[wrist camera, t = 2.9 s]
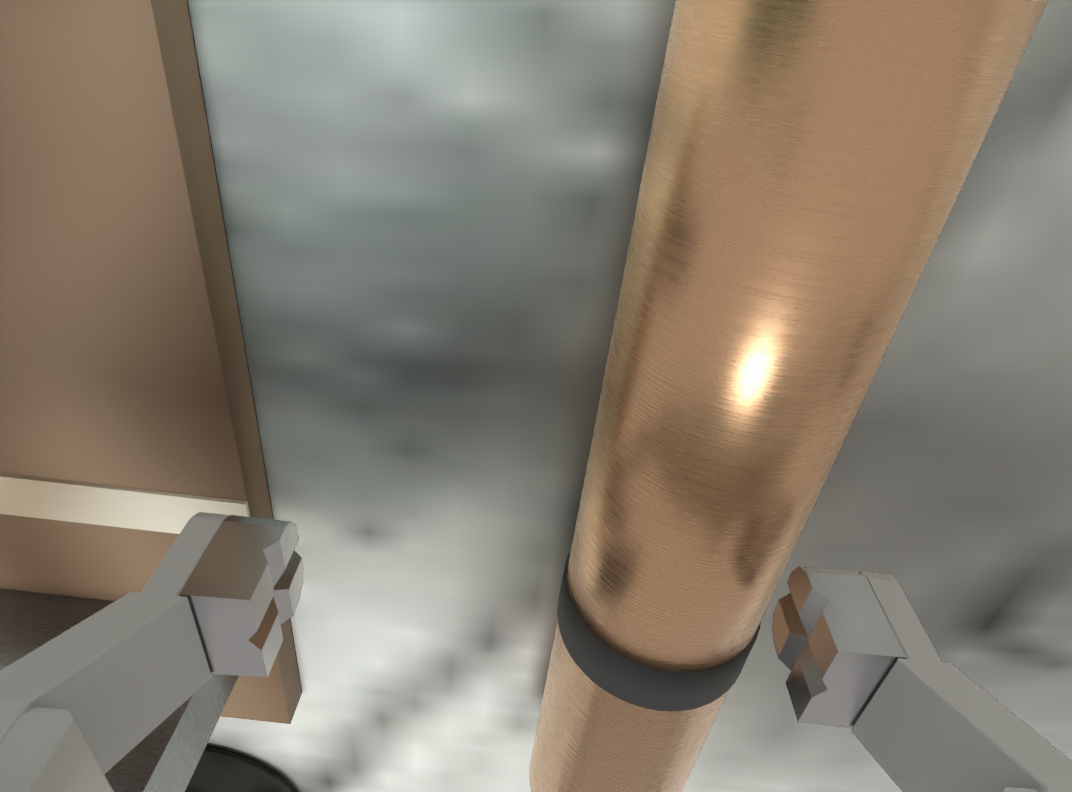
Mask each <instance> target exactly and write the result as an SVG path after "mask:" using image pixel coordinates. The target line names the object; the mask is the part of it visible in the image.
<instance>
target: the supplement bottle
mask: <svg viewBox="0 0 1072 792" xmlns="http://www.w3.org/2000/svg"><path fill="white" fill-rule="evenodd" d="M185 792H292V791H291V789H290V788H289V786H288V785H287V784H286V783H285V782H284V781H283V780H282V779H281V778H280V777H279V776H277V775H276V774H275V773H273V772H272V771H270V770H269V769H267V768H266V767H264V766H262V765H260V764H258V763H256V762H254V761H252V760H250V759H248V758H245V757H243V756H240V755H237V754H234V753H231V752H227V751H224V750H220V749H216V748H210V747H205V749H204V751H203V754H202V756H201V758H200V760H199V762H198V764H197V766H196V769H195V771H194V773H193V775H192V777H191V779H190V781H189V784H188V786H187V788H186V790H185Z"/></svg>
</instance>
